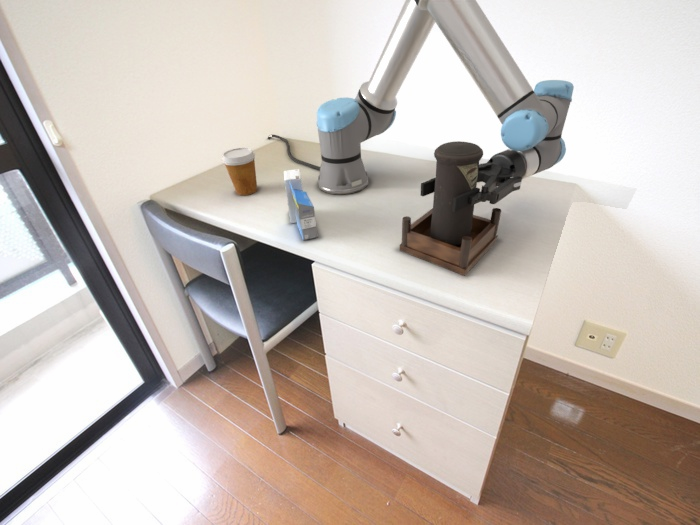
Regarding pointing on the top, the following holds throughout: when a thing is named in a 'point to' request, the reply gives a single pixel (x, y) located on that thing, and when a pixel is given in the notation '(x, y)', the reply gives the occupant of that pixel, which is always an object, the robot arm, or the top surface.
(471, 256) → the wooden tray
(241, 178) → the disposable coffee cup
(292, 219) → the cosmetic box
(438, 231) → the container
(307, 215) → the tape cartridge
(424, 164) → the top surface
